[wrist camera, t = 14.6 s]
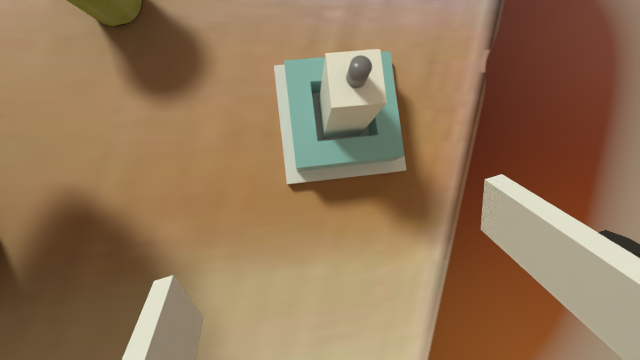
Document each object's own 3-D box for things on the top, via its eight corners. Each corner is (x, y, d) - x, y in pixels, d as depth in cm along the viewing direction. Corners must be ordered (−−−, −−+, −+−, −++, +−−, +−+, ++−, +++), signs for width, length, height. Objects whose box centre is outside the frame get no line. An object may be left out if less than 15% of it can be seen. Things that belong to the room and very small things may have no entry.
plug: (360, 134, 33) (394, 93, 21) (322, 138, 33) (334, 98, 20) (355, 98, 34) (387, 34, 21) (318, 101, 34) (327, 39, 21)
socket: (403, 171, 34) (418, 166, 30) (287, 184, 34) (284, 182, 29) (388, 59, 35) (400, 38, 31) (274, 69, 35) (270, 49, 30)
